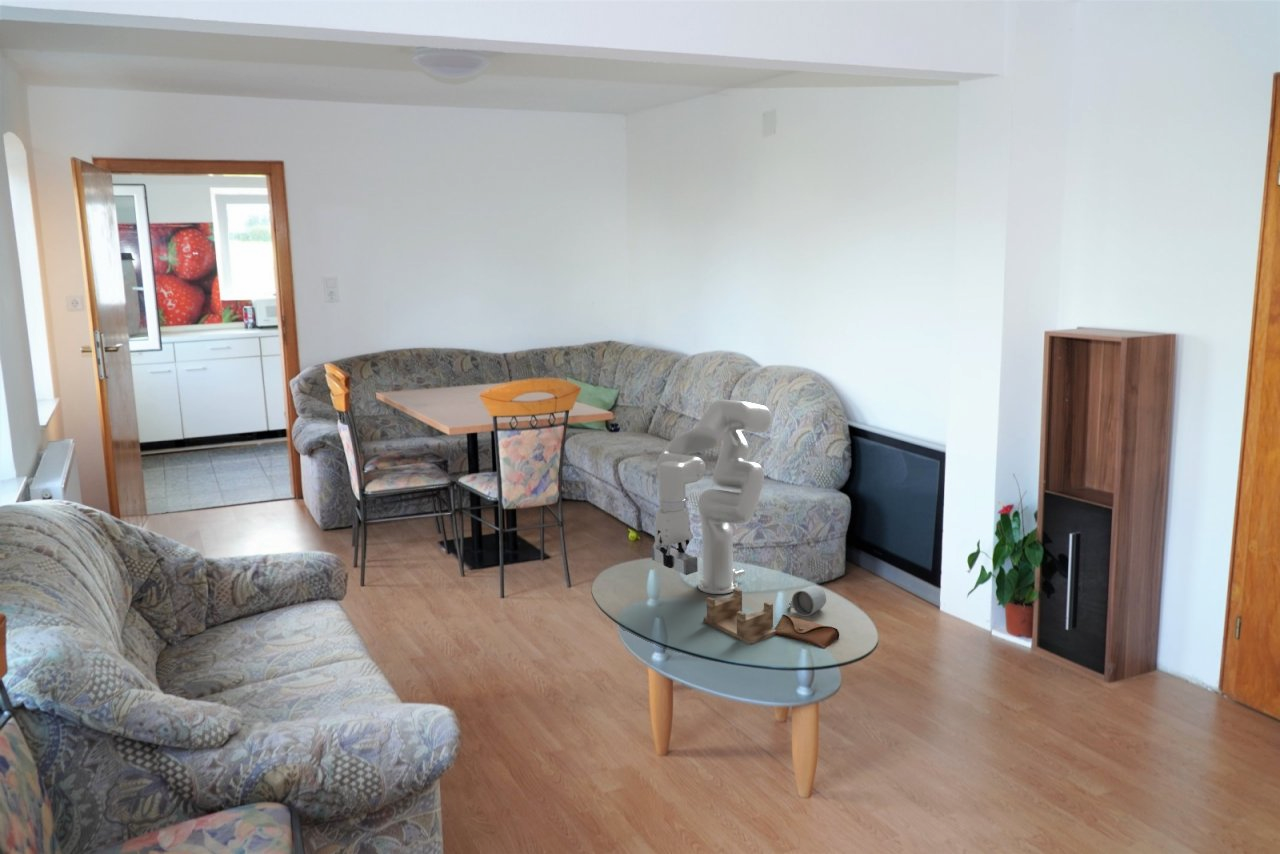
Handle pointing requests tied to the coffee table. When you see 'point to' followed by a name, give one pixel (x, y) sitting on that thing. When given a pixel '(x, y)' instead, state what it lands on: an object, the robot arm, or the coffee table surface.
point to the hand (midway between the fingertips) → (674, 564)
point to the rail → (677, 560)
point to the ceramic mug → (808, 600)
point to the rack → (740, 618)
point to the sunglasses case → (806, 631)
